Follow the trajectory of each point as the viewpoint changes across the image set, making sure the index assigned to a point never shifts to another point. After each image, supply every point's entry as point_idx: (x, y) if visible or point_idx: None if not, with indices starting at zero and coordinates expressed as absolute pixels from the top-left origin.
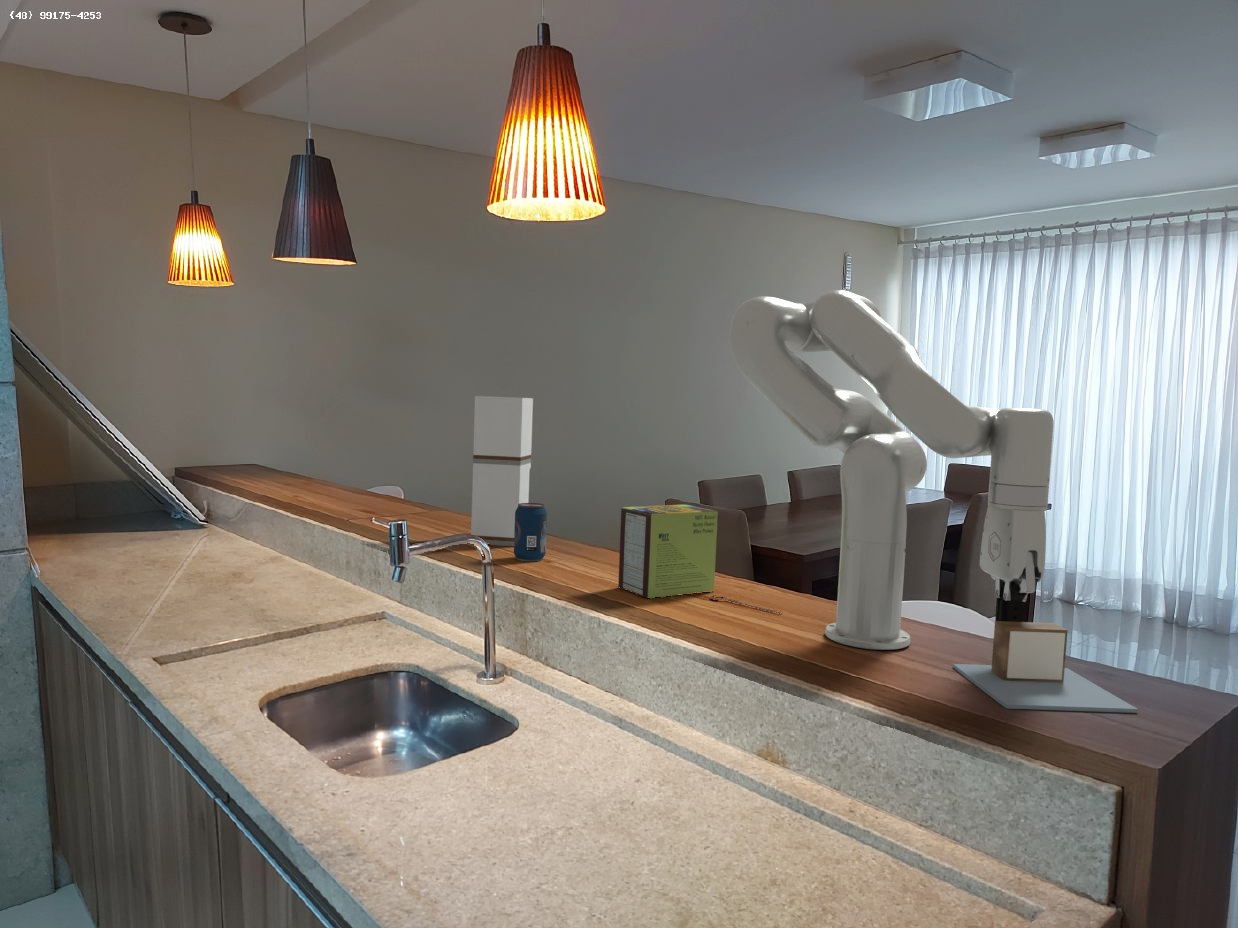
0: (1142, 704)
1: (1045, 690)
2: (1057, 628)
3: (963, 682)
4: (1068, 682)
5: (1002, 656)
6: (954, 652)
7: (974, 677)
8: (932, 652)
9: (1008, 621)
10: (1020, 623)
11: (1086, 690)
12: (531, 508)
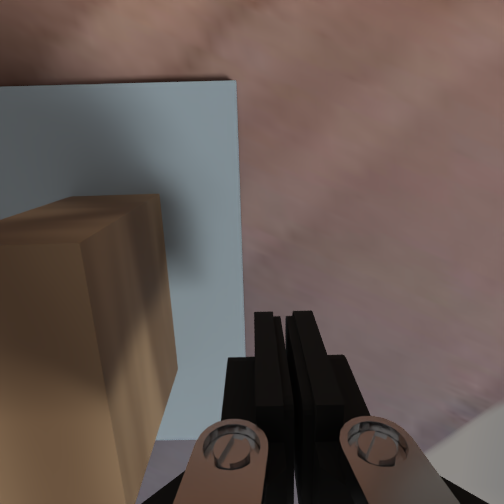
0: None
1: None
2: (18, 496)
3: (58, 52)
4: None
5: (49, 210)
6: (429, 169)
7: (75, 100)
8: (429, 75)
9: (234, 357)
10: (65, 368)
11: None
12: None
